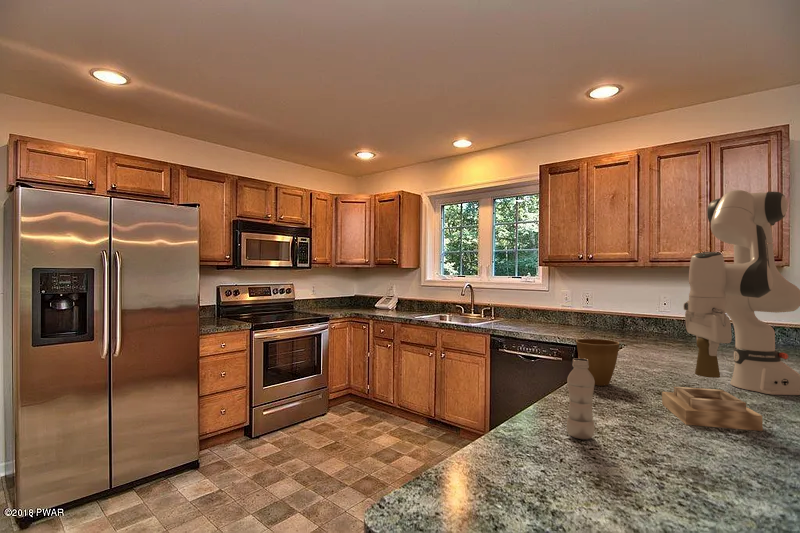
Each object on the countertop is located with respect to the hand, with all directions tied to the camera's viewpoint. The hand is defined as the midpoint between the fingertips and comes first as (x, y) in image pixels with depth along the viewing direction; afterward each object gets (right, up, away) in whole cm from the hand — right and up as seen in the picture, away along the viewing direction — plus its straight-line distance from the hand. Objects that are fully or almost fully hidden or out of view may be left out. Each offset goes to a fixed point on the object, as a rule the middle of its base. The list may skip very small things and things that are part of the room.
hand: (707, 353), depth 121 cm
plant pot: (-15, -19, +35) cm, 43 cm away
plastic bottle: (-44, -19, -15) cm, 51 cm away
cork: (0, -7, 0) cm, 7 cm away
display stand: (0, -19, 0) cm, 18 cm away
